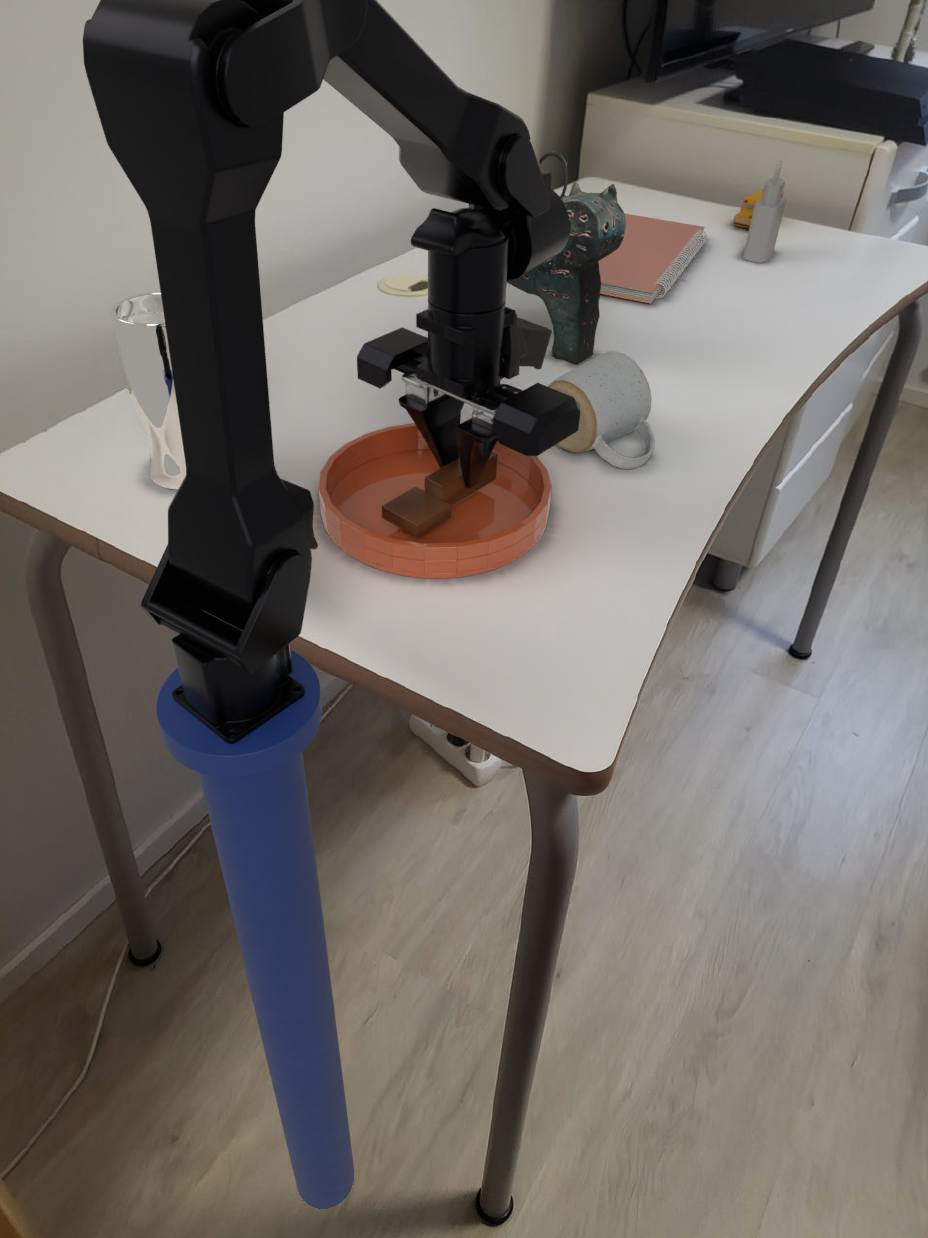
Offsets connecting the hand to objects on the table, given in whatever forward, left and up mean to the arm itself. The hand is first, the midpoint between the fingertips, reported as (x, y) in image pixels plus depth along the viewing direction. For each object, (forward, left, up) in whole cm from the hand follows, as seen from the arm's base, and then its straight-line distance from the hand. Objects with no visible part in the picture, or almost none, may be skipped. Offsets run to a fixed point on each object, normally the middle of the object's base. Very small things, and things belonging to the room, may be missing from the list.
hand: (461, 480), depth 79 cm
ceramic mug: (+17, -3, -3) cm, 18 cm away
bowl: (-2, +1, -3) cm, 3 cm away
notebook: (+60, +23, -3) cm, 65 cm away
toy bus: (+88, +18, -3) cm, 90 cm away
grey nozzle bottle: (+75, +11, -3) cm, 76 cm away
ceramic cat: (+30, +17, -3) cm, 35 cm away
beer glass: (-13, +21, -3) cm, 25 cm away
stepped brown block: (-2, 0, -1) cm, 2 cm away
